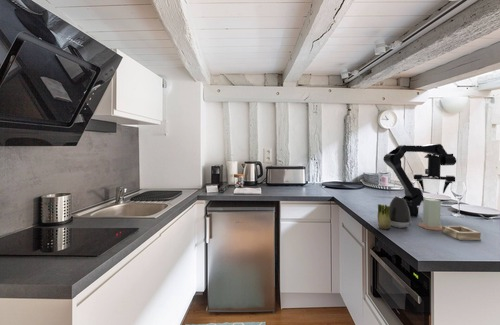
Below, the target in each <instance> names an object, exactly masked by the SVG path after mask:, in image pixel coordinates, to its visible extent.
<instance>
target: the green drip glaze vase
mask: <svg viewBox="0 0 500 325" xmlns="http://www.w3.org/2000/svg"><path fill="white" fill-rule="evenodd" d="M389 210H390V207H389V205H387V204H381V203H377V224H378V228H379V229H381V230H384V229H387V230H389V229H390V228H391V225H390V217H389Z"/></svg>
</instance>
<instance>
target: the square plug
mask: <svg viewBox="0 0 500 325" xmlns="http://www.w3.org/2000/svg"><path fill="white" fill-rule="evenodd" d="M422 202H423V205H422V207H423V209H422V222H423V224H424V225H426V226H428V227H440V225H441V208H442V207H441V206H442V204H441V203H442V201H441V200H440V199H437V198H424V197H423V200H422Z"/></svg>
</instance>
